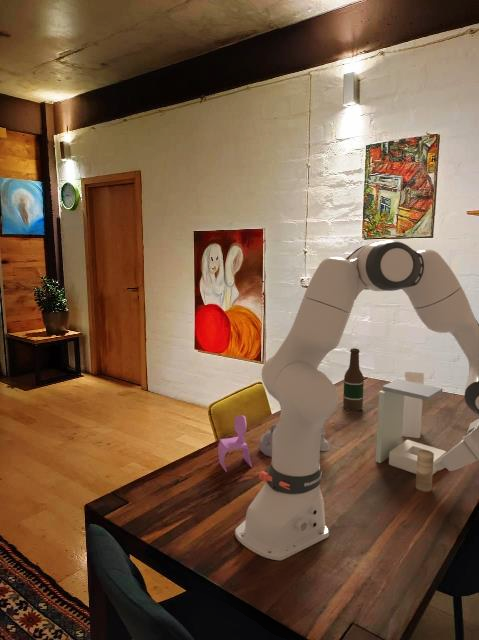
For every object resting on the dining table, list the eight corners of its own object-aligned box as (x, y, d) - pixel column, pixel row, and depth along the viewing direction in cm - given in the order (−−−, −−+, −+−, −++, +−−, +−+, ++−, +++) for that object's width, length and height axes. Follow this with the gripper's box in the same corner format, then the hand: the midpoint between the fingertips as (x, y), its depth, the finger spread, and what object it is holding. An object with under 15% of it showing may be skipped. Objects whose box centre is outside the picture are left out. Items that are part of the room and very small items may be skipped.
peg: (427, 493, 123) (430, 458, 121) (413, 487, 126) (415, 453, 124) (433, 487, 126) (436, 453, 124) (419, 482, 129) (421, 448, 127)
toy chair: (216, 461, 141) (216, 414, 139) (243, 456, 145) (243, 410, 142) (225, 474, 134) (225, 424, 131) (253, 468, 137) (253, 420, 134)
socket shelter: (427, 479, 130) (432, 400, 126) (375, 461, 141) (379, 387, 137) (446, 462, 140) (452, 388, 136) (396, 446, 151) (400, 377, 147)
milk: (420, 438, 157) (424, 375, 153) (401, 436, 159) (404, 374, 155) (419, 431, 163) (423, 370, 159) (401, 429, 165) (405, 369, 161)
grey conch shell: (280, 470, 141) (273, 441, 138) (255, 456, 150) (247, 429, 147) (306, 449, 148) (300, 420, 144) (281, 437, 157) (274, 410, 153)
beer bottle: (339, 405, 189) (341, 347, 185) (356, 403, 191) (358, 346, 187) (349, 411, 182) (351, 351, 178) (366, 409, 184) (369, 350, 180)
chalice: (332, 453, 146) (334, 398, 143) (310, 451, 148) (312, 397, 145) (332, 443, 154) (334, 391, 151) (312, 441, 155) (313, 389, 152)
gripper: (493, 413, 121) (451, 438, 129) (464, 436, 106) (420, 463, 115) (510, 434, 119) (467, 458, 127) (484, 461, 104) (437, 486, 113)
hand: (444, 460), depth 121 cm, fingers open, 8 cm apart
